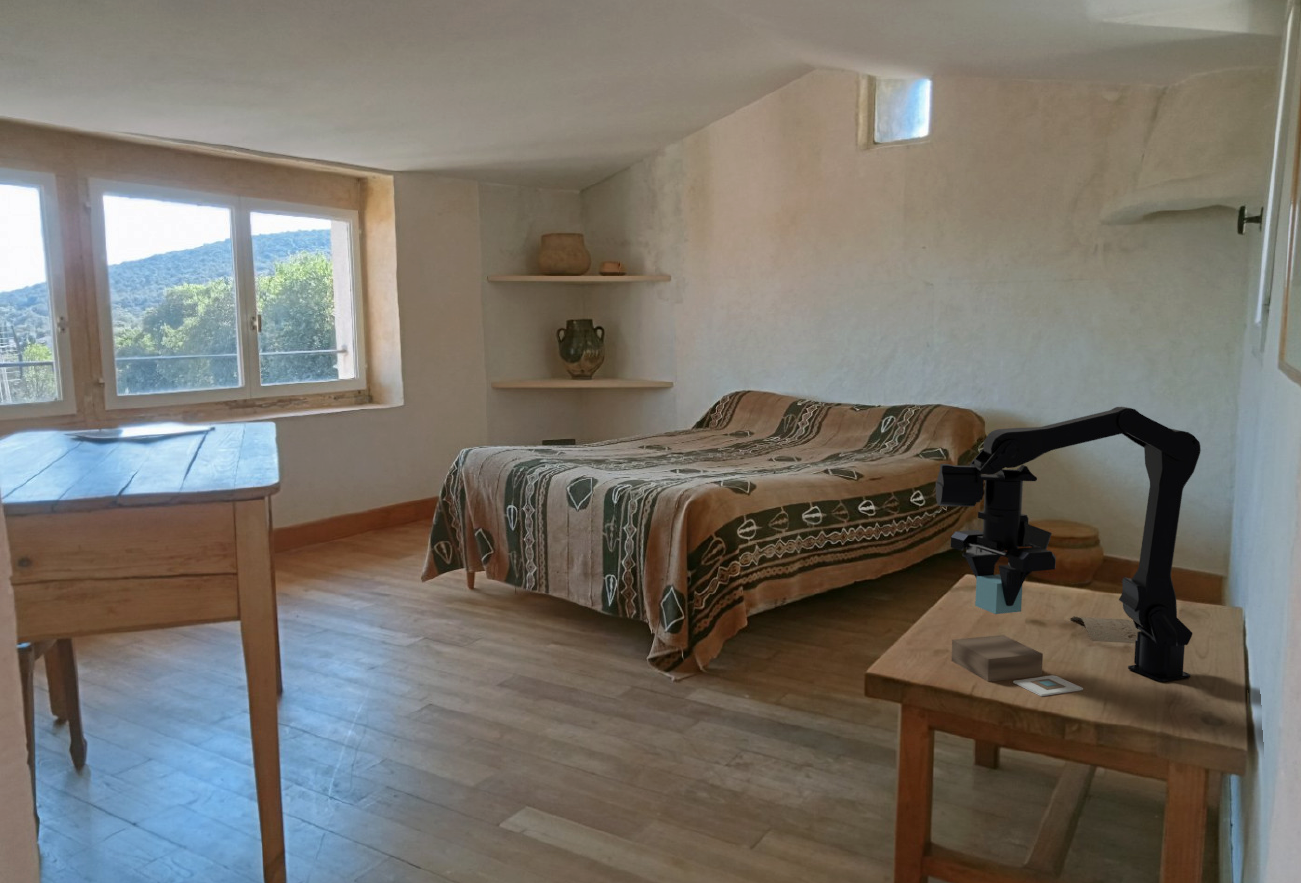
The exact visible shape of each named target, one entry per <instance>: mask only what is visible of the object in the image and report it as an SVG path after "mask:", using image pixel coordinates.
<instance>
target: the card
mask: <svg viewBox="0 0 1301 883" xmlns="http://www.w3.org/2000/svg"><path fill="white" fill-rule="evenodd" d="M1013 684H1015V685H1016V686H1019V687H1021V688H1023V689H1025V690H1027V691H1029V692H1031V693H1033V694H1036V695H1038V696H1039V697H1047V696H1051V695H1059V694H1067V693H1071V692H1072V693H1073V692H1078V691H1083V690H1084V688H1083V687H1082V686H1079V685H1077V684H1075V683H1073V682H1070V681H1068V680H1066V679H1063V677H1060V676H1057V675H1055V674H1054V675H1053V674H1052V675H1051V674H1050V675H1045V676H1036V677H1029V678H1025V679H1018V680H1013Z"/></svg>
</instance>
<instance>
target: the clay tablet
mask: <svg viewBox="0 0 1301 883" xmlns="http://www.w3.org/2000/svg"><path fill="white" fill-rule="evenodd" d="M1069 620H1070V621H1075V622H1083V625H1084V627H1085V629H1086V632H1088V636H1089V638H1090V640H1091V642H1103V643H1106V642H1107V643H1122V644H1123V643H1124V644H1135V640H1136V639H1137V633H1138V632H1139V631H1140V630H1139V629H1137V628H1136V627H1135V625H1134V622H1133V620H1132V619H1127V618H1104V617H1103V618H1102V617H1086V616H1085V617H1081V616H1072V617H1070V618H1069Z"/></svg>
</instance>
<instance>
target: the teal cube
mask: <svg viewBox="0 0 1301 883" xmlns="http://www.w3.org/2000/svg"><path fill="white" fill-rule="evenodd" d="M975 579H976V581H975V583H976V584H975V602H974V603H975V605H974V606H975V607H977V608H980V609H982V610H985V611H987V612H990V613H992V614H994V615H1000V614H1012V613H1020V612H1021V613H1022V600H1023V599H1022V598H1023V585H1022V586H1021V589H1020V591H1019V593H1018V595H1017V598H1016V600H1015V602H1014V604H1013V606H1007V605H1006V603H1005V599H1004V594H1003V588H1002V583H1001V577H1000V573H998V574H997V573H996V574H994V575H986V576H977V578H976V577H975Z"/></svg>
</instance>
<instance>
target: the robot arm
mask: <svg viewBox="0 0 1301 883" xmlns="http://www.w3.org/2000/svg"><path fill="white" fill-rule="evenodd" d="M1117 435H1123V436H1124V437H1126V439H1127V438H1128V439H1129V440H1130V441H1132V442H1133V443H1135V444H1137V445H1139V446H1140V447H1142V448H1144V449H1143V450H1144V465H1145V468H1146V472H1147V476H1148V480H1149V490H1148V498H1147V504H1146V513H1145V519H1144V526H1143V533H1142V534H1143V535H1142V541H1141V549H1140V554H1139V562H1138V568H1137V571H1136V572H1135V574H1134V575H1133V576H1132V578H1128V577H1123V578H1122V584H1121V585H1122V592H1121V595H1120V597H1119V598H1118V601H1120V603H1122V608H1123V611H1124V613H1125V614H1126V616H1127V617H1128V618H1130V620H1131V621H1133V622H1134V625H1135V627H1136V628H1137V629H1139V630H1140V631H1139V632H1138V633H1137V639H1136V640H1135V643H1134V657H1133V658H1134V661H1133V662H1134V663H1133V665H1128V667H1127V669H1128V670H1130V671H1132V672H1136V673H1137V674H1140V675H1142V676H1144V677H1148V678H1150V679H1152V680H1155V681H1157V682H1163V683H1164V682H1169V681H1175V680H1180V679H1181V680H1182V679H1188V678H1191V673H1189V672H1186V671H1184V661H1185V646H1188V645H1189V643H1190V641H1191V639H1192V637H1193V632H1192V631H1191V630H1190V628H1188V626H1186V625H1185V624H1184V623H1183V622H1182V621H1181V620H1180V619H1179V618H1178V608H1177V596H1176V595H1177V594H1176V591H1175V588H1174V583H1173V581H1172V571H1173V570H1172V568H1173V562H1174V557H1175V556H1174V555H1175V548H1176V541H1177V540H1176V539H1177V534H1178V527H1179V519H1180V514H1181V513H1180V512H1181V507H1182V506H1181V505H1182V498H1183V492H1184V488H1185V486H1186V484H1187V482H1189V480H1190V479H1191V477H1192V476H1193V474H1194V472H1195V470H1196V467H1197V464H1198V461H1199V459H1200V455H1201V451H1202V450H1201V442H1200V441H1199V439H1197V438H1196V436H1195V435H1194V434H1192V433H1190V432H1188V431H1184V430H1180V429H1179V430H1178V429H1175V428H1169V427H1167V426H1165V425H1164V424H1161V423H1159V422H1157V421H1155V420H1153V419H1151V418H1149V417H1148V416H1145V414H1142V413H1140V412H1139V411H1138V410H1137V409H1135V408H1132V407H1127V406H1116V407H1114V408H1111V409H1110V410H1105V411H1102V412H1097V413H1093V414H1089V415H1085V416H1081V417H1075V418H1072V419H1068V420H1065V421H1059V422H1056V423H1052V424H1047V425H1043V426H1035V427H1034V426H1033V427H1011V428H1010V427H1009V428H998V429H997V428H996V429H994V430H993V431H991V432H989V433H988V434H987V436H986V437H985V439H984V441H983V448H982V449H981V451H979V453H977V455H976V457H975V458H974V459H973V460H972V461H971V462H970V463H969V465H957V464H955V465H953V464H948V463H941V464H940V465H939V472H938V474H937V479H936V481H935V499H936V504H937V506H939V507H941V506H942V507H943V506H944V507H972V508H973V507H975V506H976V505H977V503H980V502H981V501H982V500H983V501H984V502H983V511H978V512H977V519H980V520H983V522H982V523H983V524H982V530H979V529H969V530H956V531H954V532H953V534H952V535H951V536H950V548H951V549H954V550H958V551H964V550H965V549H966V552H962V557H964V558H965V560H966V561H967V563H968V565H969V567H970V569H971V571H972V573H973V575H974V577H975V579H976V578H977V576H986V575H995V566H996V564H997V563H998V561H999V560H1000V559H1001V557H1003V558H1006V559H1007V558H1008V560H1007V562H1008V563H1007V564H1003V565H1002V564H1000V565H998V571H999V574H1000V577H1001V583H1002V588H1003V594H1004V599H1005V603H1006V605H1007V606H1013V604H1014V602H1015V600H1016V598H1017V595H1018V593H1019V591H1020V589H1021V586H1022V587H1023V584H1024V582H1025V580H1026V578H1028V575H1030V574H1031V573H1033V572H1039V571H1040V572H1041V571H1042V572H1043V571H1052V570H1056V564H1057V563H1056V561H1057V560H1056V559H1057V556H1056V555H1055V553H1054V552H1053V551H1051V550H1049V549H1048V546H1049V543H1050V540H1051V537H1052V532H1050V531H1048V530H1046V529H1043V528H1039V527H1037V526H1035V525H1032V524H1030V523H1029V517H1028V515H1027V514H1024V513H1022V511H1023V510H1022V508H1023V490H1024V489H1023V486H1024V484H1023V483H1024V482H1036V481H1037V480H1038V477H1037V476H1036V475H1035V474H1033V473H1032V472H1031V471H1030V469H1029V467H1028V465H1024V464H1027V463H1029V462H1031V461H1033V460H1034V461H1035V460H1036V459H1037V458H1039V457H1041V456H1043V455H1044V454H1047V453H1049V452H1051V451H1053V450H1055V451H1056V450H1060V449H1063V448H1066V447H1071V446H1075V445H1078V444H1079V445H1080V444H1084V443H1087V442H1092V441H1096V440H1102V439H1105V438H1106V439H1107V438H1109V437H1113V436H1117ZM1016 467H1017V469H1013V468H1016ZM1005 468H1006V469H1005ZM983 497H984V499H983Z"/></svg>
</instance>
